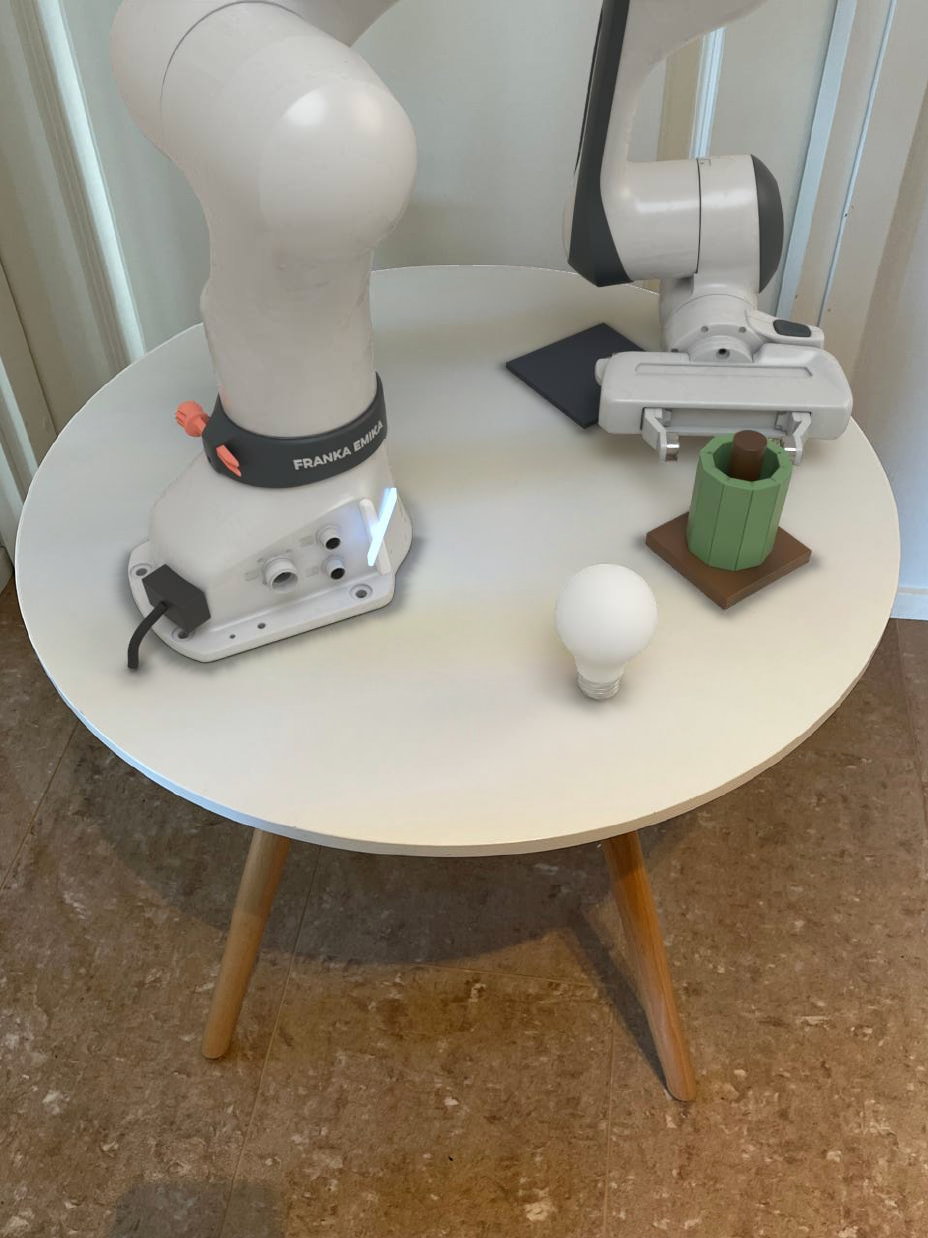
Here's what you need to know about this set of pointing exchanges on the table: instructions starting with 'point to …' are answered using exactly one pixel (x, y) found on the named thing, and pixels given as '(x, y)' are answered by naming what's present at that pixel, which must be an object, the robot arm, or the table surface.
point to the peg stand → (722, 582)
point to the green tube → (736, 507)
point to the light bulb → (605, 624)
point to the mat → (572, 370)
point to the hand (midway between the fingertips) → (730, 457)
